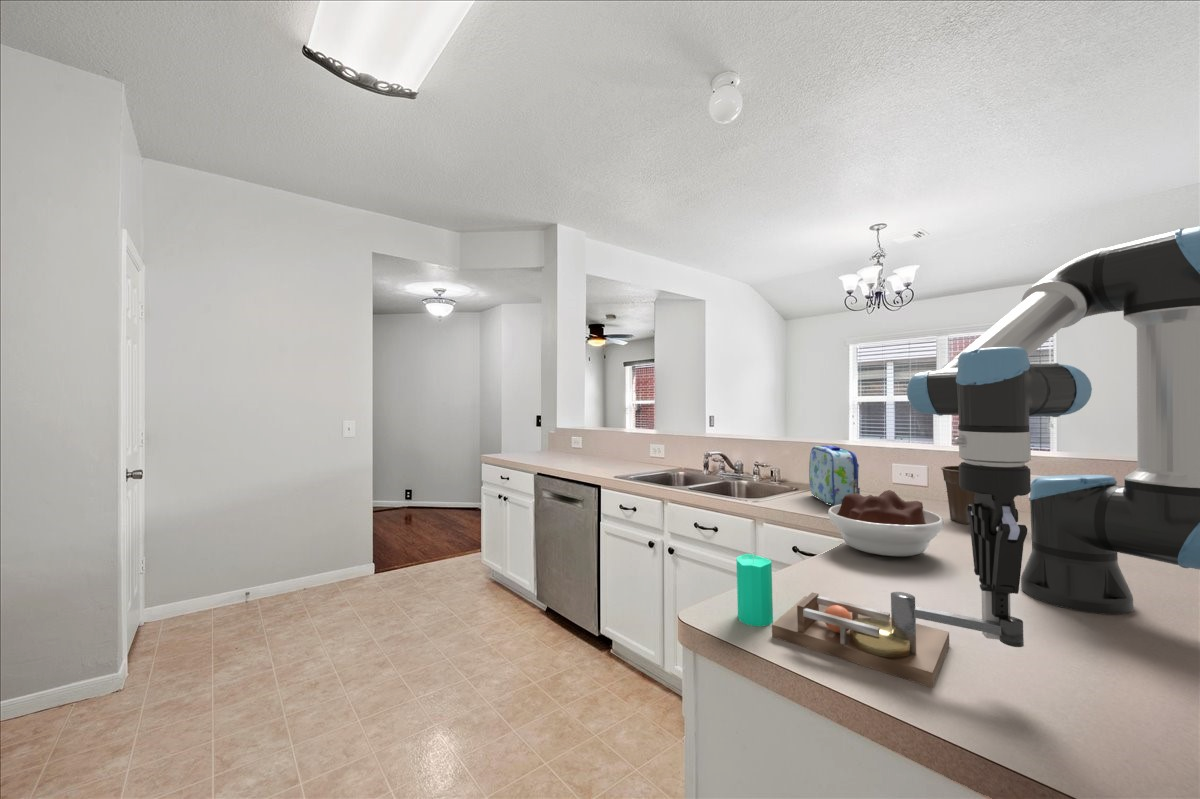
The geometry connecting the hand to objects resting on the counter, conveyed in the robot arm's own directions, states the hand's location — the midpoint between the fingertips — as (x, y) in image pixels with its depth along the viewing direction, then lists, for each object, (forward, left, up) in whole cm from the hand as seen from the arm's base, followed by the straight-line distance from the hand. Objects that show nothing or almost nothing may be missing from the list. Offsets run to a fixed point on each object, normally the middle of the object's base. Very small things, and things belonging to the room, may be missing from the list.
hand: (996, 637), depth 66 cm
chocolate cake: (+25, -54, -6) cm, 60 cm away
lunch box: (+53, -107, -6) cm, 119 cm away
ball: (+19, +3, -4) cm, 20 cm away
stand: (+17, -1, -6) cm, 18 cm away
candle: (+33, +2, -6) cm, 34 cm away
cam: (+7, +3, -4) cm, 9 cm away
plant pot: (+11, -102, -6) cm, 103 cm away
